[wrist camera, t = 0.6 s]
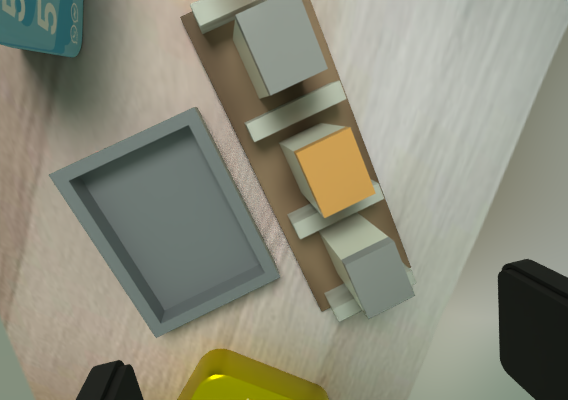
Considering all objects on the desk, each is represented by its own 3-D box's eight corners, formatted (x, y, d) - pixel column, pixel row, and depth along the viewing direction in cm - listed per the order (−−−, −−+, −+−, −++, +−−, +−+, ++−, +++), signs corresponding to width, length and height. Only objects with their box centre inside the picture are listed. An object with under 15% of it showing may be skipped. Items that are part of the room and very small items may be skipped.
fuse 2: (356, 211, 34) (394, 241, 27) (374, 255, 36) (415, 295, 28) (318, 230, 34) (345, 265, 27) (337, 273, 36) (368, 318, 28)
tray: (197, 107, 31) (194, 107, 28) (275, 263, 35) (280, 277, 32) (65, 168, 30) (48, 174, 28) (161, 319, 35) (156, 337, 32)
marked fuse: (320, 122, 32) (350, 127, 24) (341, 174, 33) (375, 193, 26) (278, 142, 32) (296, 153, 24) (301, 193, 33) (324, 218, 26)
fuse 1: (277, 18, 29) (296, -14, 22) (302, 78, 31) (328, 68, 23) (232, 39, 29) (235, 14, 22) (259, 98, 31) (270, 95, 23)
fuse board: (294, -33, 29) (304, -52, 26) (407, 264, 38) (426, 280, 34) (181, 19, 29) (175, 6, 25) (319, 307, 37) (330, 328, 34)
